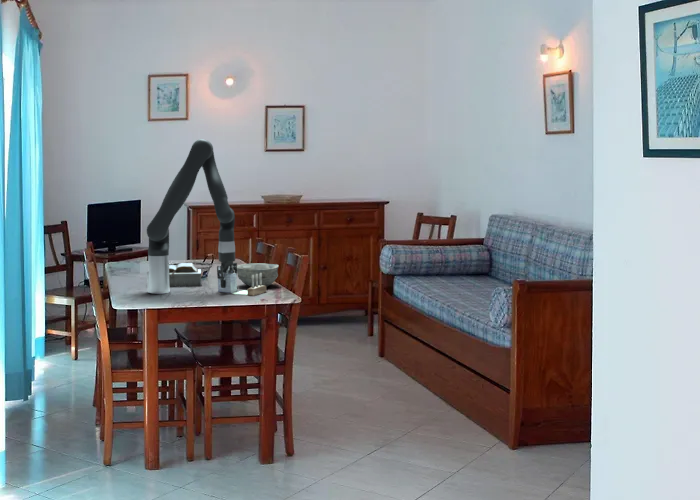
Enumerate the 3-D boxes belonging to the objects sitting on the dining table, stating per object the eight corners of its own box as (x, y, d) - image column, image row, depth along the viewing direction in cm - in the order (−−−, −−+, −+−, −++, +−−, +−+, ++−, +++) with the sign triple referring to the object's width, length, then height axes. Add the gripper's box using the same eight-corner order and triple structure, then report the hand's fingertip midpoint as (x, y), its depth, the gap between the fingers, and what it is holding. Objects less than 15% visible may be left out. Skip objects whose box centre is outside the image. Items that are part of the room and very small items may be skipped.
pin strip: (247, 295, 406) (247, 275, 405) (260, 291, 416) (260, 272, 416) (253, 296, 404) (253, 276, 403) (266, 292, 415) (266, 272, 414)
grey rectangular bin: (199, 288, 430) (198, 267, 429) (142, 288, 430) (142, 267, 429) (208, 281, 453) (207, 261, 452) (154, 281, 454) (154, 261, 453)
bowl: (237, 290, 421) (237, 269, 420) (233, 284, 441) (233, 263, 440) (281, 288, 425) (281, 267, 424) (276, 282, 445) (276, 262, 444)
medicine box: (237, 292, 416) (236, 273, 415) (231, 293, 413) (230, 274, 412) (224, 290, 421) (223, 272, 420) (217, 291, 417) (217, 273, 416)
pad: (232, 294, 410) (232, 293, 410) (243, 290, 419) (243, 290, 419) (247, 295, 407) (247, 294, 407) (258, 291, 416) (258, 291, 416)
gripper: (227, 249, 422) (228, 284, 424) (211, 252, 409) (212, 288, 411) (241, 249, 420) (242, 284, 421) (225, 253, 406) (226, 289, 408)
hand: (227, 286), depth 416 cm, fingers open, 7 cm apart
